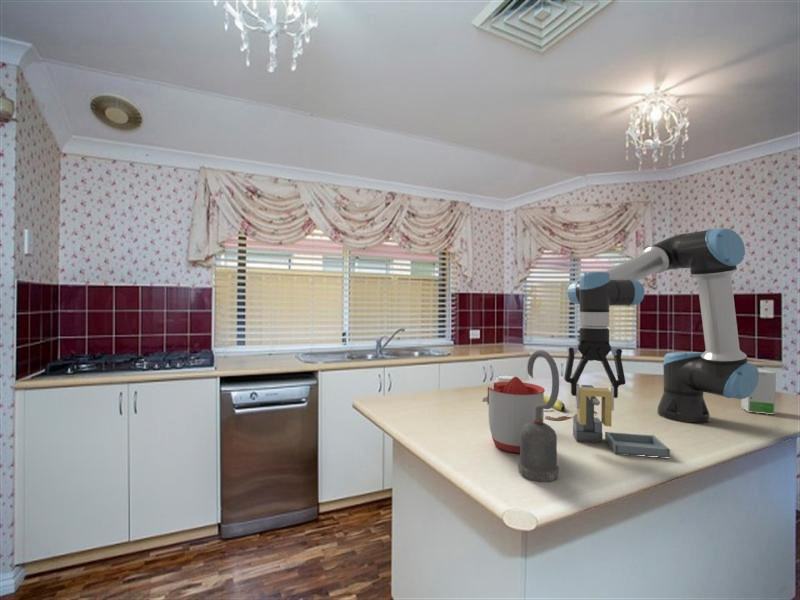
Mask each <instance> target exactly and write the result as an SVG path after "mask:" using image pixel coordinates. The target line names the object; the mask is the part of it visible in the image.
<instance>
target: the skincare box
mask: <svg viewBox="0 0 800 600" xmlns="http://www.w3.org/2000/svg"><path fill="white" fill-rule="evenodd" d="M758 372H759V380H758V384H757V387H756V389H755V390H754V392H753V393H752V394H751V395H750V396H749V397H747V398H744V399H740V401H741V402H740V403H741V404H740V405H741V406H740V408H741V409H742V408H743V409H745V410H746V411H752V412H765V413H775V414H776V394H777V392H776V389H777V372H774V371H771V370H769V369H768V370H766V369H758ZM743 409H742V410H743ZM745 410H744V411H745ZM746 411H745V412H746Z"/></svg>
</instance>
